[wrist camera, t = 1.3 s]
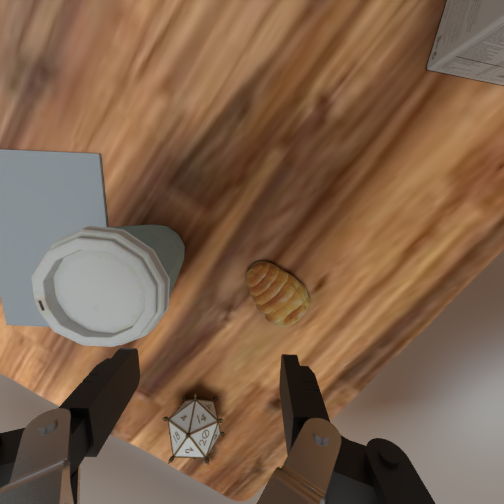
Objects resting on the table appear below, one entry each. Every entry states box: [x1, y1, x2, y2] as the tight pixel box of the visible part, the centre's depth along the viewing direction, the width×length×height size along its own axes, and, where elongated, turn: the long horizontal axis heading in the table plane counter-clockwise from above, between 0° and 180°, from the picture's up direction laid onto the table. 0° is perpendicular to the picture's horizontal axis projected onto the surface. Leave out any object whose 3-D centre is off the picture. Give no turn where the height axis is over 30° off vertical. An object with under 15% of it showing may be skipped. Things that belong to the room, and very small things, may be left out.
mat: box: [0, 149, 108, 327], centre depth 34 cm, size 24×16×1 cm, turn 178°
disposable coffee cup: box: [31, 224, 185, 347], centre depth 26 cm, size 11×11×15 cm
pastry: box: [245, 261, 311, 327], centre depth 33 cm, size 9×7×4 cm
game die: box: [162, 394, 225, 465], centre depth 36 cm, size 9×8×10 cm
